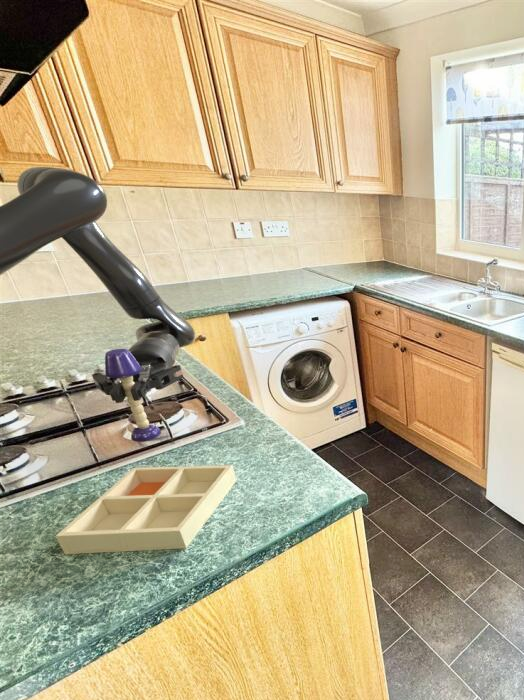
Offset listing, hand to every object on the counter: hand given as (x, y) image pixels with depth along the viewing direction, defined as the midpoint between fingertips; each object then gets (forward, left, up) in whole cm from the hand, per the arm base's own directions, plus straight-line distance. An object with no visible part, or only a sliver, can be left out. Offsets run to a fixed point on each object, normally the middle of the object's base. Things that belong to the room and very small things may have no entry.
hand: (126, 396), depth 71 cm
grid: (+6, -10, -17) cm, 21 cm away
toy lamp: (-2, +3, -10) cm, 10 cm away
